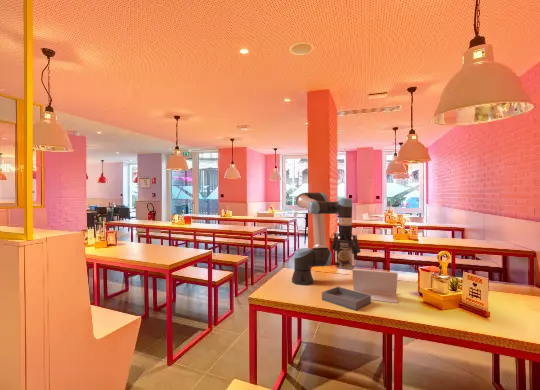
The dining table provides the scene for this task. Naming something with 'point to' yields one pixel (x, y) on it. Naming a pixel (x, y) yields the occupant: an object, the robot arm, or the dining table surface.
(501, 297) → the dining table surface
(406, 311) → the dining table surface
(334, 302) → the tray
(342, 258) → the coffee box
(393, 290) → the tablet stand
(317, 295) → the dining table surface
